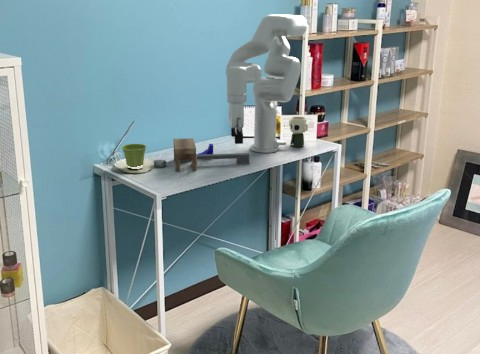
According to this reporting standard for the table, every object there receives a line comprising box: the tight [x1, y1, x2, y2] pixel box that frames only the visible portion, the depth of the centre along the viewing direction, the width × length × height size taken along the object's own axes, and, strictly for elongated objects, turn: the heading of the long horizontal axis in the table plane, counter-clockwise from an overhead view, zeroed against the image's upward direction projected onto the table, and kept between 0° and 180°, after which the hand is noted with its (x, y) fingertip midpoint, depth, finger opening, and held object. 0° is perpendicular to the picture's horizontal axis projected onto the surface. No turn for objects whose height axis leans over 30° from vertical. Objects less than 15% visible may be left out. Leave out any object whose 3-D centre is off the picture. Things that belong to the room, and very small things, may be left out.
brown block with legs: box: [172, 137, 197, 172], centre depth 217 cm, size 8×15×9 cm, turn 9°
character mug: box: [288, 115, 309, 147], centre depth 247 cm, size 11×7×13 cm, turn 43°
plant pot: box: [121, 143, 147, 167], centre depth 213 cm, size 9×9×9 cm
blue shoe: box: [196, 143, 214, 155], centre depth 228 cm, size 12×4×6 cm, turn 98°
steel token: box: [152, 159, 167, 168], centre depth 217 cm, size 5×5×2 cm
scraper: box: [196, 152, 250, 168], centre depth 220 cm, size 22×5×4 cm, turn 99°
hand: (237, 139), depth 220 cm, fingers open, 9 cm apart
